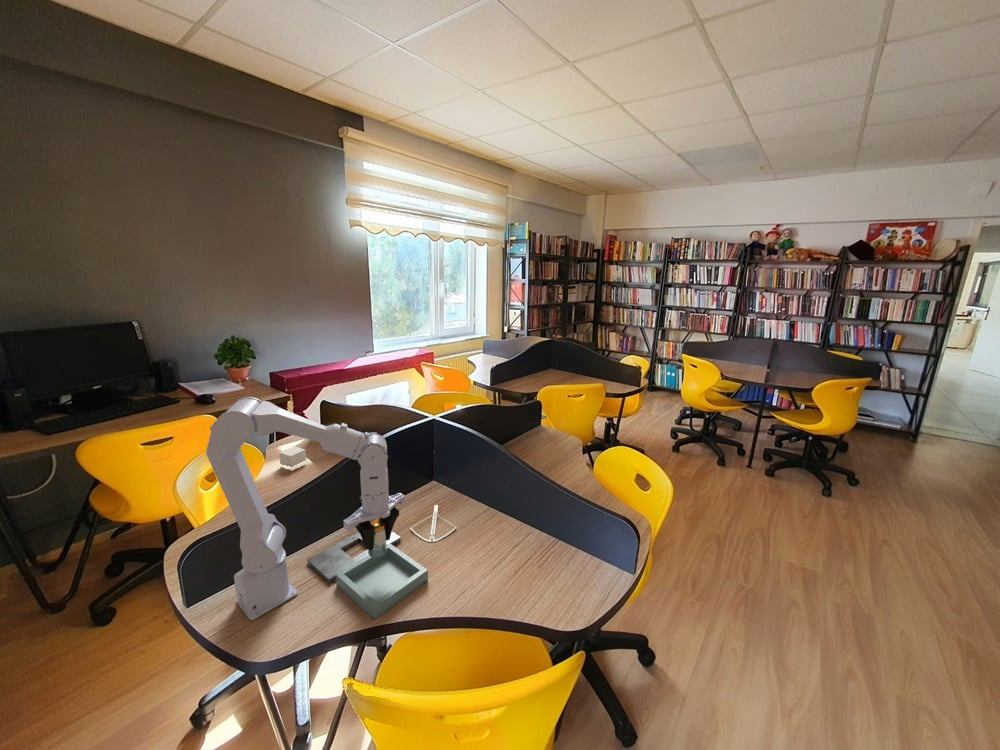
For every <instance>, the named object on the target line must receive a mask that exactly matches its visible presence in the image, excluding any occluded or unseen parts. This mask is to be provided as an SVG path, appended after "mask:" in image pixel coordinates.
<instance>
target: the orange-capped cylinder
mask: <svg viewBox="0 0 1000 750" xmlns="http://www.w3.org/2000/svg"><path fill="white" fill-rule="evenodd" d="M369 521H370V522H371V524H372V525H373V526H375V529H374V534H373V550H371V551H369V550H368V553H369V555H370V556H371V557H380V556H383V555H384V554H385V553H386V551H387V546H386V528H385V521H384V520H381V519H380V518H375V519H372V520H369Z"/></svg>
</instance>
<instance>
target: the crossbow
mask: <svg viewBox="0 0 1000 750" xmlns="http://www.w3.org/2000/svg"><path fill="white" fill-rule="evenodd" d="M438 513H439V505H438V504H434V505H433V514H431V515H430V516H428V517H426V518H425V519H423V520H422V521H420V522H418V523H417V524H415V525H413V526H412V527H410V528H409V531H410V532H412V533H413V534H414V535H415V536H416V537H418V538H419V539H420V540H423V541H424V542H428V543H436V542H439V541H441V540H443V539H445V538H446V537H448V536H450V535H451V534H452V533H454V532H455V531H457V527H456V526H455V525H453V523H450V522H449V521H447V520H446V519H444V518H443V517H441V516H440V515H439V514H438ZM430 517H432V520H431V521H432V522H431V528H430V535H429V539H427V538H424V537H422V536H421V535H419V534H418V533H417V532H416V531H415V530H414V529H413V528H414V527H416V526H417V525H419V524H421V523H422V522H424V521H426V520H427V519H429V518H430ZM438 517H439V518H441V519H442V520H444V521H445V522H447V523H448V524H450V525H451V526H453V527H454V528H453V529H452V530H451V531H449V532H448V533H445V534H444V535H443V536H442V537H439V538H437V539H436V538H435V536H436V528H437V519H438Z"/></svg>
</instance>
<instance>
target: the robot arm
mask: <svg viewBox="0 0 1000 750" xmlns="http://www.w3.org/2000/svg"><path fill="white" fill-rule="evenodd" d="M209 430H210V434H209V438H208V442H207V445H206V446H207V447H206V450H205V453H206V456H207V459H208V461H209V463H210V465H211V468H212V470H213V472H214V474H215V476H216V478H217V481H218V483H219V485H220V487H221V490H222V491H223V492H222V493H223V494H224V497H225V499H226V501H227V503H228V505H229V507H230V510H231V511H232V514H233V516H234V518H235V521H236V522H237V525H238V527H239V529H240V540H239V548H240V551H241V554H242V555H241V556H242V557H241V559H240V560H241V566H242V567H243V568H242V569H241V570H239V571H238V572H236V573H235V574H234V575H233V580H234V581H233V582H234V588H235V593H236V594H235V595H236V599H235V600H236V601H235V602H236V603H237V605H238V606H239V607H240V608H241V610H242V612H244V614H245V615H246V617H247V618H248V619H249V620H250V621H254V620H255V619H257V618H260V617H261V616H262V615H264V614H265V613H267V612H268V613H269V611H271V610H273V609H275V608H276V607H278V606H280V605H281V604H283V603H286V601H288V600H290V599H292V598H293V597H295V596H297V595H298V593H299V592H298V590H296V588H295V587H294V586H293V585H292V584H291V583H290V580H289V579H290V578H289V571H288V563H287V561H288V560H287V554H286V551H285V549H284V547H283V543H284V541H285V539H286V536H287V530H286V527H285V526H284V524H282V523H280V522H279V521H278V520H277V518H276V516H275V514H272V513H269V512H268V510H267V507H266V505H265V503H264V501H263V499H262V496H261V493H260V492H259V489H258V486H257V484H256V481H255V479H254V477H253V475H252V472H251V471H250V468H249V466H248V465H249V464H248V463H247V461H246V458H245V457H244V456H245V455H244V454H243V451H242V447H243V446H244V443H246V442H247V441H248V440H250V439H251V438H252V437H253V435H254V433H255V432H256V433H257V436H256V438H262V437H264V436H268V435H270V434H274V433H276V432H279V433H284V434H287V435H291V436H293V437H294V436H295V437H299V438H302V439H306V440H309V441H310V440H311V441H313V442H317V443H319V444H320V446H321V448H322V449H323V450H324V451H325V452H329V453H332V454H335V455H339V456H342V457H344V458H347V459H348V458H349V459H351V460H354V461H357V463H358V464H359V465H360V471H359V473H360V475H359V476H360V492H361V496H360V497H361V499H362V501H361V506H360V507H359V508H358V509H357V510H355V512H354V513H353V514H351V515H350V516H348V517H347V518H346V519H343V528H344V529H345V530H346V531H347V532H352V531H354V528H356V530H357V531H358V532H359V533H360V535H361V537H362V540H363V542H364V545H365V546H364V545H363V546H364V548H365V549H366V550H367V549H368V550H369V551H371V550H373V534H374V529H375V526H373V525H372V524H371V522H370V521H372V520H376V519H381V520H384V521H385V528H386V540H387V541H388V540H390V536H391V532H393V528H394V526H395V523H396V520H397V519H398V517H399V516H400V510H399V508H397V507H396V506H398V505H404V504H405V503H406V498H405V495H404V494H402V493H401V492H398V493H396V494H393V495H389V493H390V492H389V472H388V471H389V470H388V459H389V455H388V445H387V443H388V442H387V440H386V438H385V437H384V436H382V435H381V434H380V433H378V432H366V431H365V432H361V431H359V430H356V429H353V428H349V427H348V424H347V423H344V422H342V423H341V424H338V423H332V424H330V425H324V424H321V423H318V422H317V421H313V420H311V419H308V418H305V417H304V416H301V415H298V414H296V413H293V412H291V411H288V410H286V409H283V408H282V407H279V406H277V405H275V403H272V402H271V401H267V400H266V401H265V400H260V399H259V398H257V397H252V396H244V397H241V398H239V399H237V400H236V401H235V402H234V403H233V404H231V406H230V407H229V408H228V409H227V410H226V411H225V412H223V413H221V414H220V416H218V418H216V420H215V421H214V422H213V423H212V425H211V426H210V427H209ZM358 532H357V533H358Z"/></svg>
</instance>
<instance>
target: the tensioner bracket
mask: <svg viewBox="0 0 1000 750" xmlns="http://www.w3.org/2000/svg"><path fill="white" fill-rule="evenodd" d="M401 539H402V538H401V536H400V535H398V534H396V532H393V531H392V532H391V536H390V540H388V541H387V540H386V545H387V544H389V543H390V544H391V545H393V546H396V544H398V543H400V542H401ZM358 543H360V544H362V545H363V546H364V547H365V545H364V542H363V540H362V537H361V535H360V533H359V532H356V533H355V534H353V535H351V536H348V537H347V538H344V539H343V540H341V541H339V542H337V543H335V544H333V545H331V546H329V547H327V548H325V549H324V550H322V551H321V552H318V553H316V554H314V555H313V556H311V557H309V558H307V560H306V561H307V563H306V564H308V566H310V568H312V569H313V570H314V571H315V572H316V573H317V574H318V575H319V576H321V578H323V579H324V581H326V582H327V583H328V584H331V583H333V582H334V581H336V574H337V573H339V572H341V571H342V570H344V569H346V568H348V567H349V566H351V565H353V564H354V563H356V562H358V561H360V560H361V559H363V558H365V557H366V556H368V555H369V553H368V549H367V548H366V550H364V551H362V552H360V553H359V554H357V555H355V556H354V557H352V556H350V555H349V554H348V553H346V552H345V550H348V549H349V548H351V547H353V546H355V545H356V544H358Z"/></svg>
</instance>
